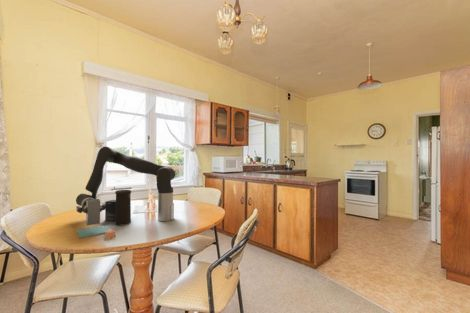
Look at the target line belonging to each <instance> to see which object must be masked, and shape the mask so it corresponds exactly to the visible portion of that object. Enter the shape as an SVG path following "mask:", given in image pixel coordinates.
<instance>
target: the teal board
mask: <svg viewBox="0 0 470 313" xmlns="http://www.w3.org/2000/svg"><path fill="white" fill-rule="evenodd" d="M106 231H109V228H108V227H107V225H106V224H105V225H99V226H94V227H86V228H81V229H77V235H78V237H79V239H85V238H90V237H94V236H101V235H105V232H106Z"/></svg>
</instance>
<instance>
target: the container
mask: <svg viewBox="0 0 470 313" xmlns="http://www.w3.org/2000/svg"><path fill="white" fill-rule="evenodd" d="M114 194H115V200H116V213H115V221H114V223H115V224H114V225H116V226H124V225H128V224H130V223H131V222H132V221H131V220H132V218H131V217H132V213H131V211H132V209H131V207H132V206H131V204H132V203H131V194H132V190H130V189H118V190H115V192H114Z"/></svg>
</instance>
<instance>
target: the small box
mask: <svg viewBox="0 0 470 313" xmlns="http://www.w3.org/2000/svg"><path fill="white" fill-rule="evenodd" d="M104 203H105V210H104V213H105V215H104V221H106V222H107V221H109V222H115V213H116V199H111V200H106V201H104Z"/></svg>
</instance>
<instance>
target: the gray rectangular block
mask: <svg viewBox="0 0 470 313" xmlns="http://www.w3.org/2000/svg"><path fill="white" fill-rule="evenodd" d="M100 205H101V200H100V199H99V198H96V199H92V200H86V208H87V210H88V211H87V214H86V213H85V214H86V215H85V223H86V226H92V225H93V226H94V225H98V224H101V212H100Z"/></svg>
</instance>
